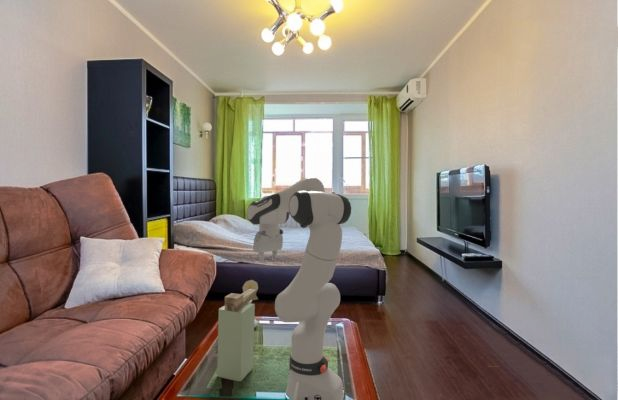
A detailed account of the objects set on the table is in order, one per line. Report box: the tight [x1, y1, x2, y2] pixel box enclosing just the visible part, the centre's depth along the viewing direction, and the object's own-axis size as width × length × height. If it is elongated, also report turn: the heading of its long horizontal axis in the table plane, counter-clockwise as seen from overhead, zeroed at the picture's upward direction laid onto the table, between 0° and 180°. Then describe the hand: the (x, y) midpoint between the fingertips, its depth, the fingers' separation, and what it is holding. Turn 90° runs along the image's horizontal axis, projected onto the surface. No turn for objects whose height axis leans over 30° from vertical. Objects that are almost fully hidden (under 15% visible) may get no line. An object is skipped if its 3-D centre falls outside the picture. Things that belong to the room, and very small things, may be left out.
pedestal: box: [216, 302, 256, 382], centre depth 131 cm, size 10×10×26 cm
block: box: [224, 289, 257, 312], centre depth 134 cm, size 5×18×5 cm, turn 162°
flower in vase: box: [242, 279, 259, 329], centre depth 171 cm, size 13×11×25 cm
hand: (268, 261), depth 156 cm, fingers open, 8 cm apart
